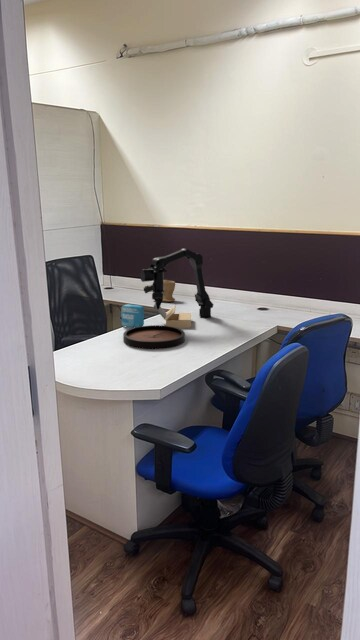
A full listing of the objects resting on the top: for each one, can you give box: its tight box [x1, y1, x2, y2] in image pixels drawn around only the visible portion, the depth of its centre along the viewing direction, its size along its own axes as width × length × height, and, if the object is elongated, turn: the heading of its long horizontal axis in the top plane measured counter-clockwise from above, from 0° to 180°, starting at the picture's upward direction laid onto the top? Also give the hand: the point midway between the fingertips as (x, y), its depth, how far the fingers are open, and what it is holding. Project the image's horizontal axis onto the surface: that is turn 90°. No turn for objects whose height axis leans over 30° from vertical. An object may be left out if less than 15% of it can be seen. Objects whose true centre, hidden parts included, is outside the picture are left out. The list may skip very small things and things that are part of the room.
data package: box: [120, 303, 145, 328], centre depth 276 cm, size 12×4×12 cm, turn 69°
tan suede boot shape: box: [151, 279, 176, 303], centre depth 343 cm, size 15×12×15 cm
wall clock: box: [122, 324, 186, 350], centre depth 251 cm, size 31×4×31 cm
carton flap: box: [153, 301, 176, 321], centre depth 281 cm, size 7×17×10 cm
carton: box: [165, 312, 192, 329], centre depth 282 cm, size 14×18×5 cm
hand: (158, 307), depth 281 cm, fingers open, 9 cm apart
